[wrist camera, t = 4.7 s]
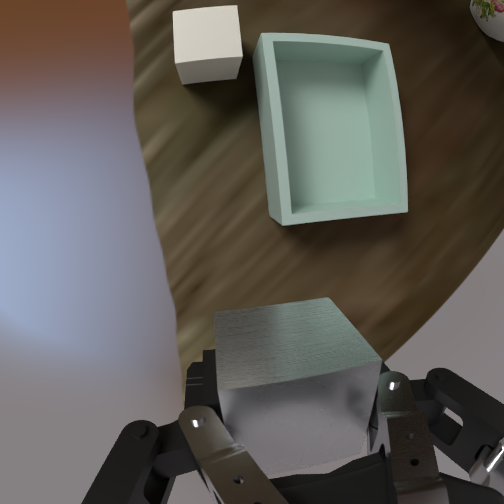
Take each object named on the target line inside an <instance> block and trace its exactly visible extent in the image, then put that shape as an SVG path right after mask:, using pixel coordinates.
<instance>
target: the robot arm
mask: <svg viewBox="0 0 504 504" xmlns="http://www.w3.org/2000/svg"><path fill="white" fill-rule="evenodd" d="M446 407H447V408H448V409H450V410H451V411H453V412H454V413H455V414H457V415H458V416H460V417H461V419H462V421H463V427H462V426H461V425H460V424H458V423H457V422H456V421H454V420H453V419H451V418H450V417H449V416H448V415H446V414H445V413H444V411H445V409H446ZM433 445H435V446H436V447H437V448H438V449H439V450H441V451H442V452H443V453H444V454H445V455H447V456H448V457H449V458H450V459H451V460H453V461H454V462H455V463H457V464H458V465H459V466H460V467H461V468H463V469H464V470H465V471H466V472H468V473H469V477H470V480H471V481H470V482H469V481H466V480H462V479H459V478H456V477H453V476H450V475H447V474H444V473H441V472H439V470H438V465H437V461H436V456H435V451H434V447H433ZM367 450H368V451H367V452H368V456H365V457H362V458H359V459H356V460H353V461H351V462H349V463H348V464H345V465H343V466H342V467H340V468H338V469H336V470H334V471H332V472H330V473H326V474H296V475H291V476H285V477H280V478H274V479H268V478H267V476H266V475H265V474H264V473H263V471H262V470H261V469H260V467H259V466H258V465H257V463H256V462H255V461H254V459H253V458H252V457H251V455H250V454H249V453H248V451H247V450H246V449H245V448H244V447H243V446H242V445H239V446H238V445H237V444H236V443H235V441H234V440H233V438H232V437H231V435H230V434H229V432H228V431H227V429H226V428H225V426H224V421H223V416H222V411H221V406H220V401H219V395H218V390H217V372H216V353H215V349H213V350H203V362H192V364H191V365H190V367H189V368H188V369H187V379H186V392H185V407H184V410H183V411H182V412H181V413H180V415H179V418H178V420H176V421H175V422H173V423H170V424H167V425H163V426H160V427H157V426H156V425H155V424H154V423H152V422H150V421H145V420H138V421H134V422H131V423H129V424H128V425H127V426H125V427H124V429H123V430H122V432H121V434H120V435H119V437H118V439H117V441H116V442H115V444H114V446H113V448H112V449H111V451H110V453H109V455H108V456H107V458H106V460H105V462H104V464H103V465H102V467H101V469H100V471H99V473H98V474H97V476H96V478H95V480H94V482H93V483H92V485H91V487H90V489H89V491H88V492H87V494H86V496H85V498H84V500H83V502H82V503H81V504H167V501H168V498H169V496H170V492H171V490H172V487H173V484H174V481H175V478H176V476H177V475H181V474H184V473H188V472H191V471H194V470H197V472H198V474H199V476H200V478H201V479H202V481H203V483H204V485H205V486H206V489H207V490H208V492H209V494H210V496H211V497H212V499H213V501H214V503H215V504H504V404H502V403H501V402H499V401H498V400H496V399H495V398H493V397H491V396H490V395H488V394H487V393H485V392H484V391H482V390H480V389H479V388H477V387H476V386H474V385H473V384H471V383H469V382H468V381H466V380H464V379H463V378H462V377H460V376H458V375H457V374H455V373H453V372H452V371H450V370H448V369H445V368H434V369H432V370H430V371H429V372H428V374H427V377H426V379H420V380H409V379H408V377H407V376H406V375H404V374H402V373H400V372H395V371H390V369H389V368H388V367H387V366H386V365H385V364H384V362H383V361H382V364H381V370H380V375H379V380H378V385H377V389H376V394H375V398H374V403H373V407H372V411H371V415H370V419H369V423H368V427H367Z"/></svg>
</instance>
